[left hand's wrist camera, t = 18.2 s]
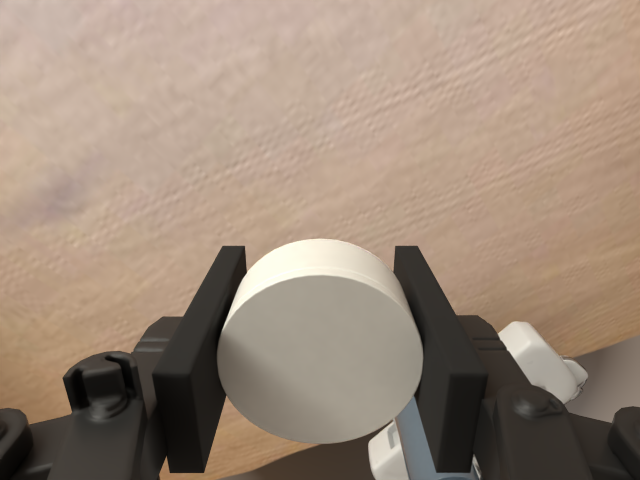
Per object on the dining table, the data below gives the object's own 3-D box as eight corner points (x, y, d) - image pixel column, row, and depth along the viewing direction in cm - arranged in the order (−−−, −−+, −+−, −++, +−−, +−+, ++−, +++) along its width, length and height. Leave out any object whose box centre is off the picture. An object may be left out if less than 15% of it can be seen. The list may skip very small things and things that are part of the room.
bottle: (369, 326, 42) (410, 523, 24) (411, 309, 41) (487, 499, 23) (386, 359, 44) (437, 569, 25) (427, 343, 43) (510, 547, 24)
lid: (346, 409, 14) (350, 470, 12) (204, 341, 13) (181, 394, 11) (442, 292, 12) (467, 338, 10) (288, 203, 11) (280, 234, 9)
